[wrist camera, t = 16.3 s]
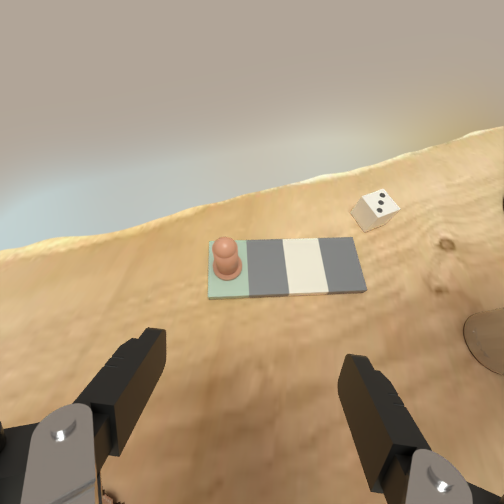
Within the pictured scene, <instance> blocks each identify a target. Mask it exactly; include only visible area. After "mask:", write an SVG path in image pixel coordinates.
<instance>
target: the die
mask: <svg viewBox="0 0 504 504" xmlns="http://www.w3.org/2000/svg"><path fill="white" fill-rule="evenodd" d="M399 210H400V208H399V207H398V205H397V204H396V203H395V202H394V201H393V200H392V198H391V197H390V196H389V195H388V194H387V192H386V191H385V190H384V189H381V190H379V191H376V192H373V193H370V194H367V195H364V196H362V197H361V198H360V199H359V201H358V202H357V204H356V205H355V206H354V208H353V209H352V211H351V212H350V213H351V215H352V216H353V217H354V219H355V220H356V221H357V223H358V224H359V226H360V227H361V228H362V230H363V231H364V232H367V231H369V230H372V229H375V228H377V227H380V226H382V225H385V224H386V223H387V222H388V221H389V220H390V219H391V218H392V217H393V216H394V215H395V214H396V213H397V212H398V211H399Z"/></svg>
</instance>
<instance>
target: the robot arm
mask: <svg viewBox="0 0 504 504" xmlns="http://www.w3.org/2000/svg"><path fill="white" fill-rule="evenodd" d="M464 335H465V340H466V343H467V345H468V347H469V349H470V351H471V352H472V354H473V355H474V356H475V358H476V359H477V360H478V361H479V362H480V363H481V364H483V365H484V366H485V367H486V368H488V369H490V370H492V371H493V372H496V373H499V374H503V375H504V308H500V309H495V310H491V311H486V312H482V313H477V314H474V315H472V316H471V317H469V318H468V320H467V321H466V323H465V326H464ZM165 362H166V330H165V329H157V328H149V327H148V328H146V329H145V331H144V332H143V333H142V335H141V336H140V337H139V339H136V338H131V339H130V340H128V341H127V342H125V343H124V344H122V345H121V346H120V347H119V348H118V349H117V350H116V352H115V353H114V354H113V355H112V358H110V359H109V360H108V361H107V363H106V364H105V366H104V367H102V369H101V370H100V371H99V372H98V373H97V375H96V376H95V377H94V378H93V379H92V381H91V382H90V383H89V384H88V385H87V387H86V388H85V389H84V390H83V392H82V393H81V394H80V395H79V396H78V398H77V399H76V400H75V401H74V402H73V403H72V404H69V405H66V406H63V407H61V408H59V409H57V410H55V411H53V412H52V413H50V414H49V415H48V416H46V417H45V418H44V419H43V420H42V421H41V422H39V423H35V424H29V425H23V426H18V427H12V428H7V429H3V427H2V424H1V422H0V504H103V496H102V481H101V468H102V466H103V464H104V462H105V461H106V459H107V457H108V455H111V456H118V457H120V455H121V453H122V451H123V449H124V447H125V445H126V443H127V441H128V439H129V437H130V435H131V433H132V431H133V429H134V427H135V425H136V423H137V421H138V419H139V417H140V415H141V413H142V411H143V409H144V407H145V406H146V404H147V402H148V400H149V398H150V396H151V394H152V392H153V390H154V388H155V386H156V384H157V382H158V380H159V378H160V376H161V374H162V372H163V369H164V366H165ZM338 395H339V398H340V401H341V404H342V407H343V410H344V413H345V416H346V419H347V422H348V425H349V428H350V431H351V434H352V437H353V440H354V443H355V446H356V449H357V452H358V455H359V458H360V461H361V464H362V467H363V470H364V473H365V476H366V479H367V482H368V485H369V488H370V491H371V492H376V493H383V494H384V495H385V498H386V501H387V503H388V504H504V495H503V496H502V497H499V496H497V495H495V494H493V493H491V492H488V491H486V490H484V489H482V488H480V487H477V486H475V485H473V484H471V483H469V482H467V481H466V480H465V479H464V477H463V476H462V475H461V473H460V472H459V471H458V470H457V469H456V468H455V467H454V466H453V465H452V464H451V463H450V462H449V461H448V460H446V459H445V458H444V457H442V456H441V455H439V454H437V453H435V452H433V451H432V450H431V448H430V446H429V445H428V443H427V441H426V440H425V438H424V437H423V435H422V433H421V432H420V430H419V428H418V427H417V425H416V423H415V422H414V420H413V418H412V417H411V415H410V413H409V412H408V410H407V408H406V407H404V403H403V402H402V400H401V398H400V397H399V396H398V393H397V392H396V390H395V388H394V387H393V385H392V384H391V382H390V381H389V380H388V379H387V378H386V377H385V376H384V375H383V374H382V373H381V372H380V371H377V370H374V368H373V366H372V365H371V363H370V361H369V359H368V358H367V357H366V356H361V355H353V354H347V355H346V357H345V360H344V363H343V366H342V369H341V373H340V376H339V379H338Z"/></svg>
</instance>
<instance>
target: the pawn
mask: <svg viewBox="0 0 504 504" xmlns="http://www.w3.org/2000/svg"><path fill="white" fill-rule="evenodd" d="M212 252H213V256H214V261H213V270H214V273H215V275H216V276H217V277H218V278H219V279H221V280H224V281H231V280H234V279H236V278H237V277H238V276H239V275H240V273H241V271H242V261H241V259H240V257H239V256H238V246H237V243H236V242H235V241H234V240H233V239H232V238H229V237H221V238H219V239H217V240H216V241H215V242H214V243H213V246H212Z"/></svg>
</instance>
